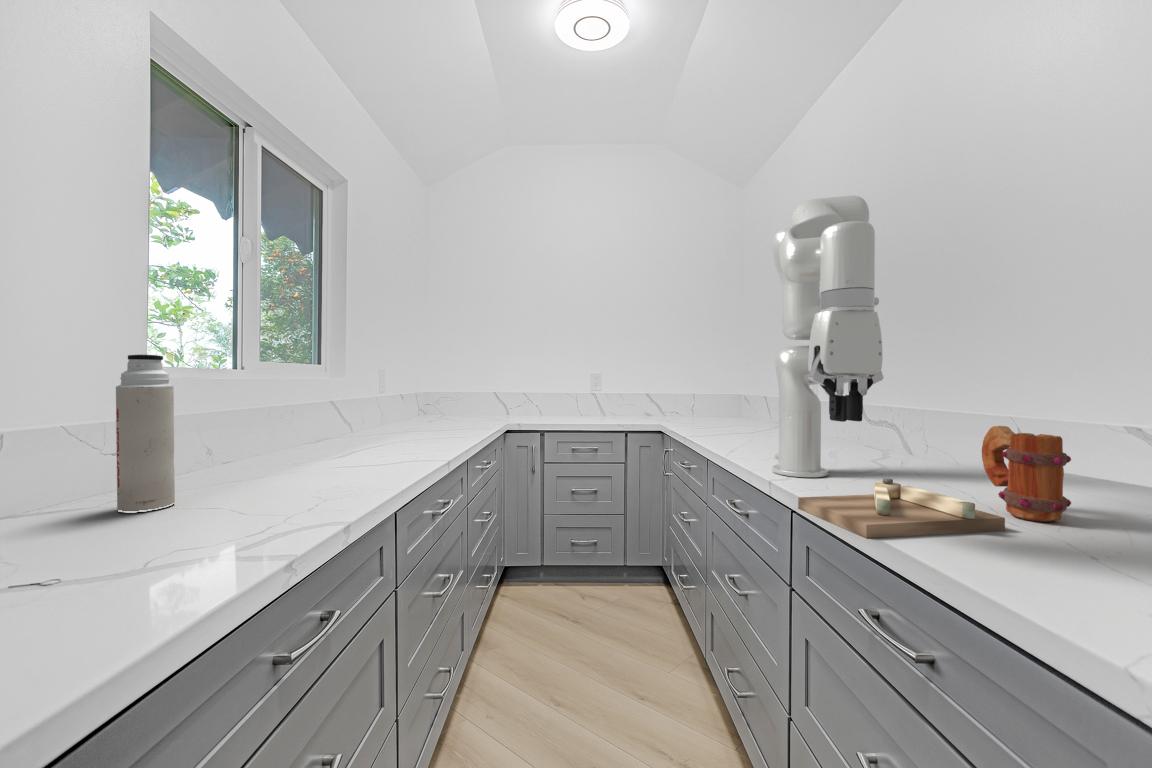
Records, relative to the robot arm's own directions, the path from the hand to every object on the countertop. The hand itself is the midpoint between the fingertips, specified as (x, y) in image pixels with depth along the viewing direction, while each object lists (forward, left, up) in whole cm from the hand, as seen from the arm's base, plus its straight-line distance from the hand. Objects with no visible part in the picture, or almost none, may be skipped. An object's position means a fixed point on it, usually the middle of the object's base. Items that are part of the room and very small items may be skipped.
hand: (845, 419), depth 79 cm
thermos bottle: (-31, -118, -17) cm, 123 cm away
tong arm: (-5, +12, -15) cm, 20 cm away
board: (-3, +12, -17) cm, 21 cm away
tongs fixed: (-3, +17, -15) cm, 23 cm away
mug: (-2, +36, -17) cm, 40 cm away
